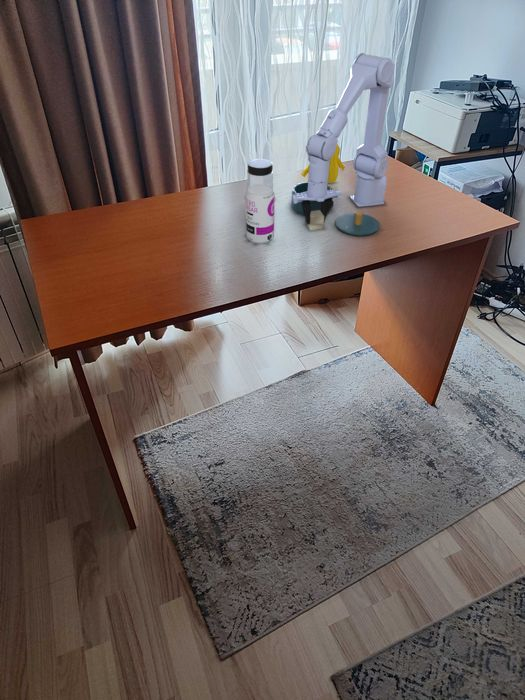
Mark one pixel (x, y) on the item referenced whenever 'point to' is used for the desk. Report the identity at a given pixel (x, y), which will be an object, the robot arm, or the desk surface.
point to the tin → (300, 189)
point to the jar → (260, 172)
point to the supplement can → (260, 213)
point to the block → (316, 220)
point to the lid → (357, 224)
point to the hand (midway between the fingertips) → (314, 222)
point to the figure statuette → (331, 166)
